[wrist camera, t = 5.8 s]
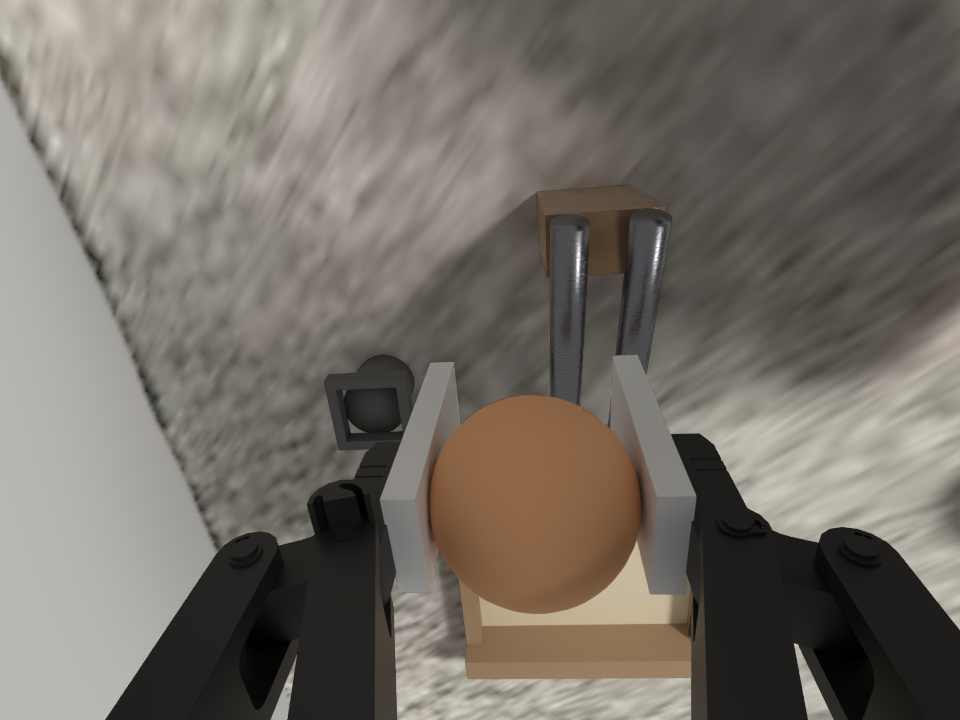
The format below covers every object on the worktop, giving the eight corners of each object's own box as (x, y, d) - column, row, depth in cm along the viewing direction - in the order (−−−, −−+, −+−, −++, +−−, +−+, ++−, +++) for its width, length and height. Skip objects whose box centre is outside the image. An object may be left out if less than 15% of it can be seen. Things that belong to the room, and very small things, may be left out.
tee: (345, 350, 30) (323, 381, 27) (416, 346, 30) (404, 377, 26) (357, 413, 32) (338, 450, 28) (425, 410, 31) (415, 447, 28)
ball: (435, 363, 15) (390, 482, 10) (627, 356, 14) (670, 481, 9) (455, 509, 17) (424, 661, 12) (622, 509, 16) (655, 669, 12)
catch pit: (457, 531, 35) (452, 566, 32) (712, 524, 34) (730, 560, 31) (470, 639, 39) (467, 678, 36) (698, 637, 38) (713, 677, 35)
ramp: (536, 189, 26) (548, 222, 19) (630, 183, 26) (680, 213, 18) (546, 487, 33) (557, 597, 26) (619, 485, 33) (652, 595, 25)
